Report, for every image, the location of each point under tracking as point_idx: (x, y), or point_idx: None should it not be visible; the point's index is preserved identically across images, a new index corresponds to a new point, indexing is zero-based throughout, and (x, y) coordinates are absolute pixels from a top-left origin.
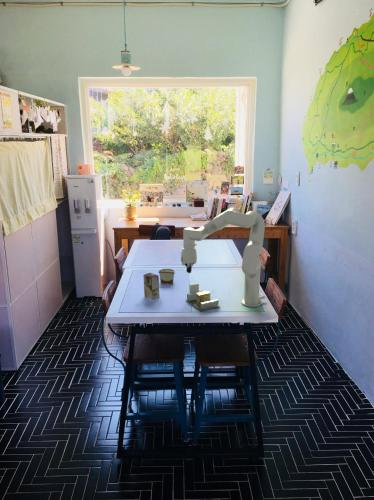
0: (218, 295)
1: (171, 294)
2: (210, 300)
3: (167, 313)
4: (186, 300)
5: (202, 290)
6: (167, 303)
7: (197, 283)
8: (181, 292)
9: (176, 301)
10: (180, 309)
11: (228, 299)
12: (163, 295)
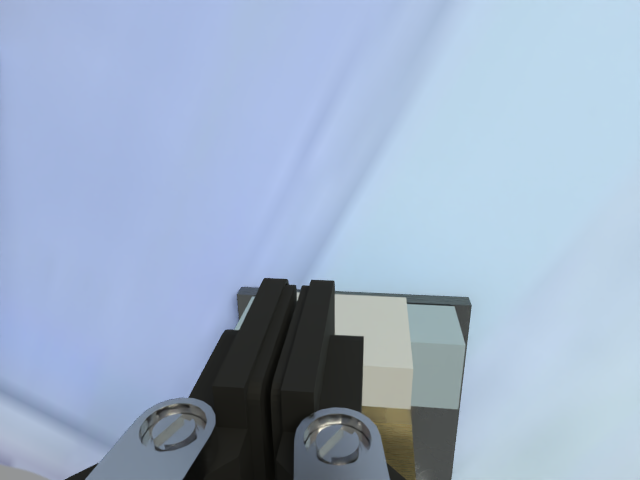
0: (634, 342)
1: (163, 24)
2: (445, 434)
3: (13, 414)
4: (239, 308)
5: (452, 355)
6: (55, 246)
7: (399, 390)
8: (307, 24)
9: (151, 248)
10: (129, 409)
11: (634, 465)
12: (61, 3)
